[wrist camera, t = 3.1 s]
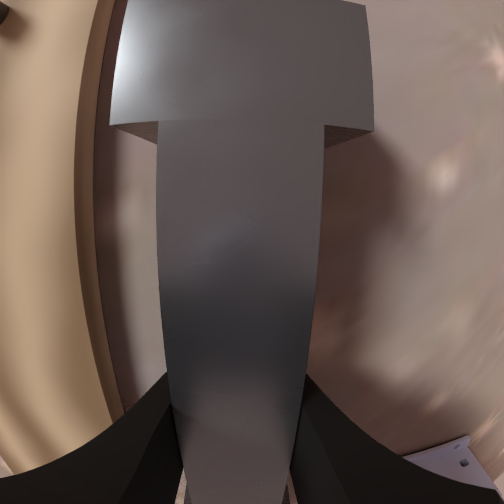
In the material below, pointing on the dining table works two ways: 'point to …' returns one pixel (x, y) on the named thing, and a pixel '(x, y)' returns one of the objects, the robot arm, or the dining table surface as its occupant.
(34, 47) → the oak board
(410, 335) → the dining table surface
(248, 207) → the drawer pull handle
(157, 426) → the robot arm
